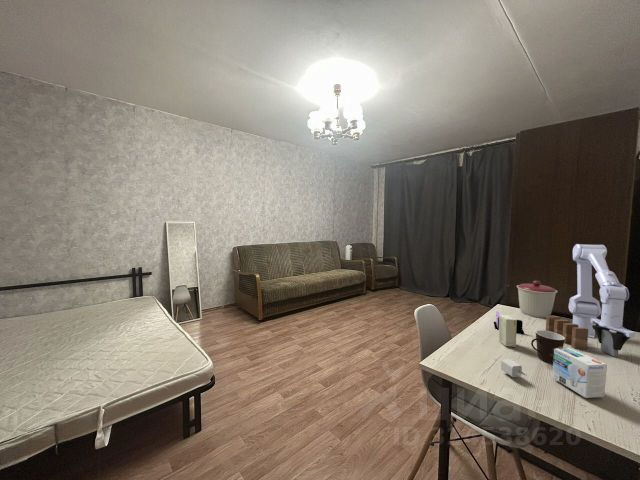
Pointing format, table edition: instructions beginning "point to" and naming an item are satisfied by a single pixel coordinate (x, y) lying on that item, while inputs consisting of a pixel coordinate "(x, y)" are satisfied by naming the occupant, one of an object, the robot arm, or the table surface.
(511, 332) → the skincare box
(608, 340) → the domino
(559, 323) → the domino
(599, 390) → the light bulb box
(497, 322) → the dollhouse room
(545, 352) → the coffee mug
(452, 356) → the table surface
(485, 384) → the table surface
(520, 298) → the canister
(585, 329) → the domino
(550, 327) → the domino
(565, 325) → the domino
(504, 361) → the usb wall charger
